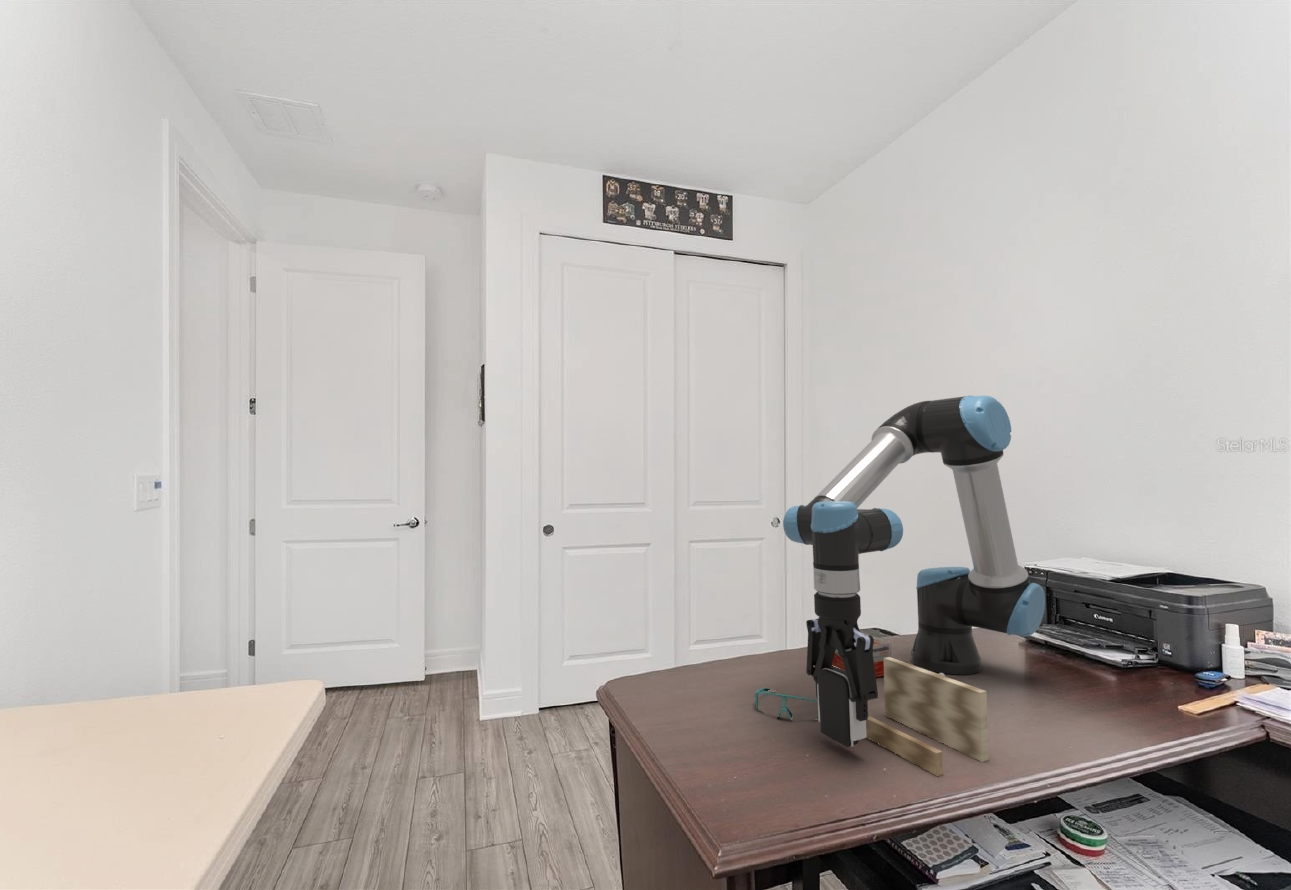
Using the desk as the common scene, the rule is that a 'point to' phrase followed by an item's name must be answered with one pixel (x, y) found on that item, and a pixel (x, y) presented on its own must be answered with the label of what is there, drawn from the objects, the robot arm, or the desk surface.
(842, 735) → the battery charger
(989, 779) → the desk surface
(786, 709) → the sunglasses
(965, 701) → the wooden boards
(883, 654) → the medicine box
